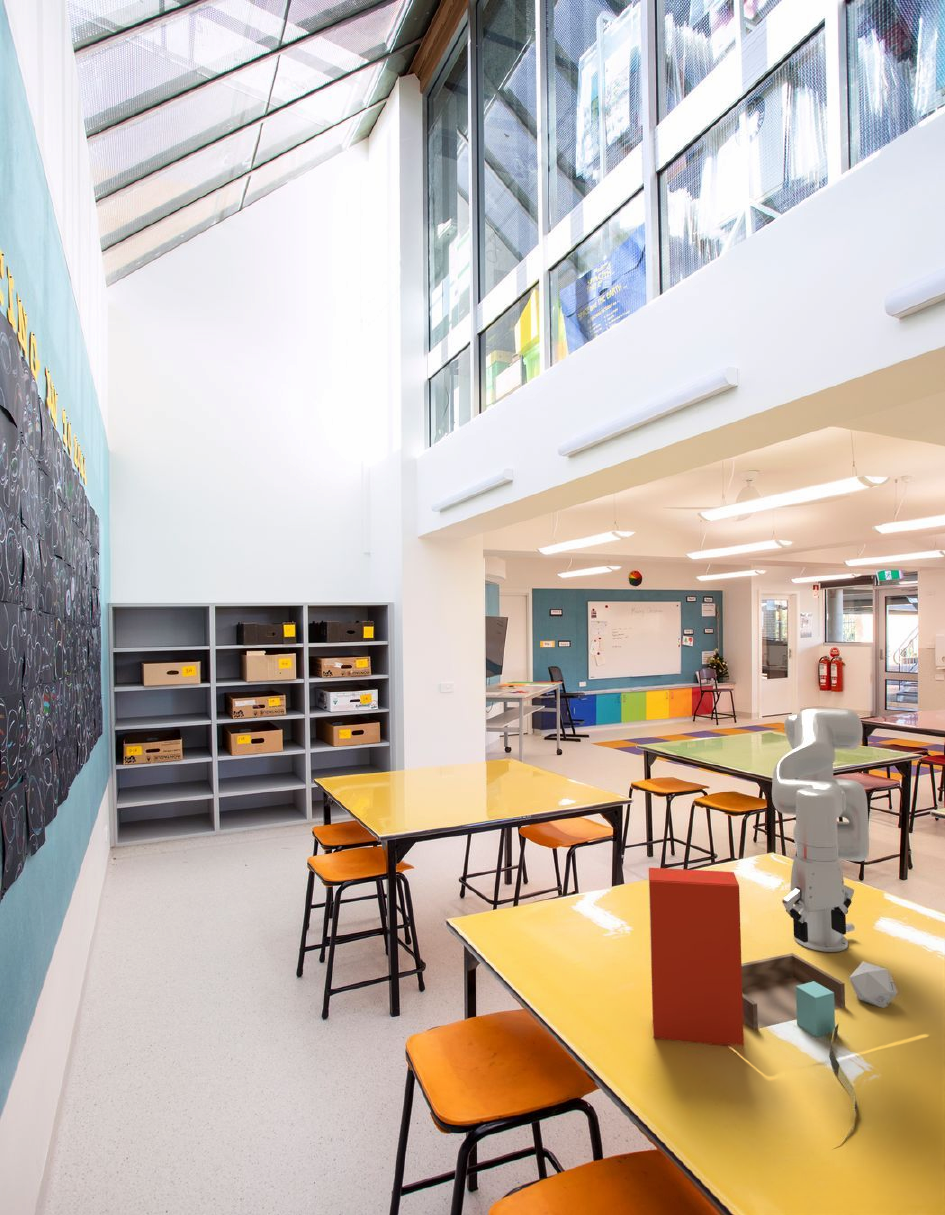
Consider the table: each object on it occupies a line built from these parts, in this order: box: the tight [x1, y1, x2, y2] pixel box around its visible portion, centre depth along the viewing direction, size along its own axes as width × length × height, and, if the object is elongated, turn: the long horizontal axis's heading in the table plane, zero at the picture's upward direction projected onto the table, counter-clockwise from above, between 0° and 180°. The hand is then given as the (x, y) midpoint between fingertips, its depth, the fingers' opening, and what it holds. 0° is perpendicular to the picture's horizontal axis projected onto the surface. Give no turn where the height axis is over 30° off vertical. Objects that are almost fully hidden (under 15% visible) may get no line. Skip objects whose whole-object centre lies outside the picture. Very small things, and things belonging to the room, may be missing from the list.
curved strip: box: [828, 1023, 858, 1144], centre depth 124 cm, size 6×39×4 cm, turn 147°
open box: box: [741, 952, 846, 1030], centre depth 155 cm, size 24×15×6 cm, turn 108°
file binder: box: [648, 867, 745, 1047], centre depth 145 cm, size 8×17×32 cm, turn 77°
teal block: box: [796, 981, 836, 1038], centre depth 144 cm, size 5×5×8 cm
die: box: [848, 960, 899, 1009], centre depth 155 cm, size 8×9×10 cm
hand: (820, 935), depth 143 cm, fingers open, 9 cm apart
